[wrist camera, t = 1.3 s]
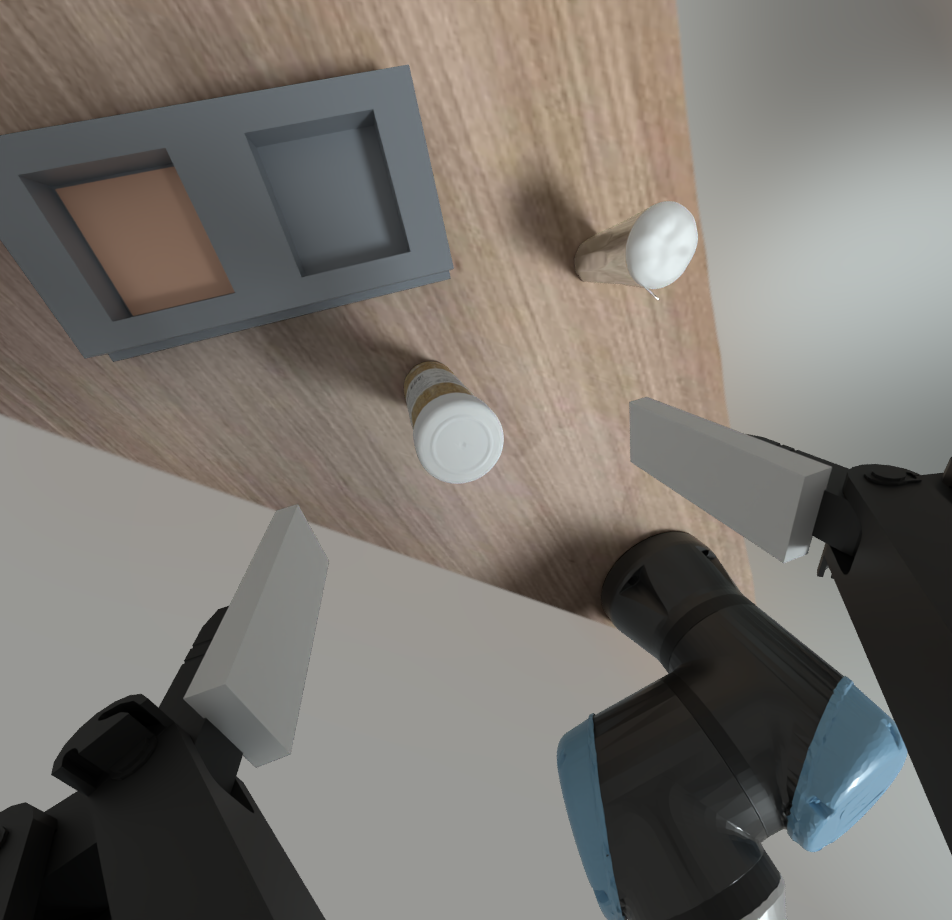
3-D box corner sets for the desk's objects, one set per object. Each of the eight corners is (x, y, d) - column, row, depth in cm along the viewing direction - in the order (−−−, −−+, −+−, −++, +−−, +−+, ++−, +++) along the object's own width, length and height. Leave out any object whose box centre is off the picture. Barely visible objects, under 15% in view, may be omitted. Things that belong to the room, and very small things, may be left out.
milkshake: (551, 287, 29) (627, 280, 20) (582, 215, 27) (680, 173, 18) (595, 310, 30) (683, 314, 21) (627, 244, 29) (737, 218, 20)
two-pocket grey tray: (448, 279, 27) (455, 276, 24) (123, 359, 24) (90, 366, 21) (403, 82, 22) (406, 51, 19) (-12, 156, 19) (-76, 132, 16)
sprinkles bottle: (431, 424, 31) (460, 502, 19) (390, 387, 29) (395, 449, 17) (468, 387, 30) (523, 443, 18) (430, 347, 28) (464, 380, 16)
